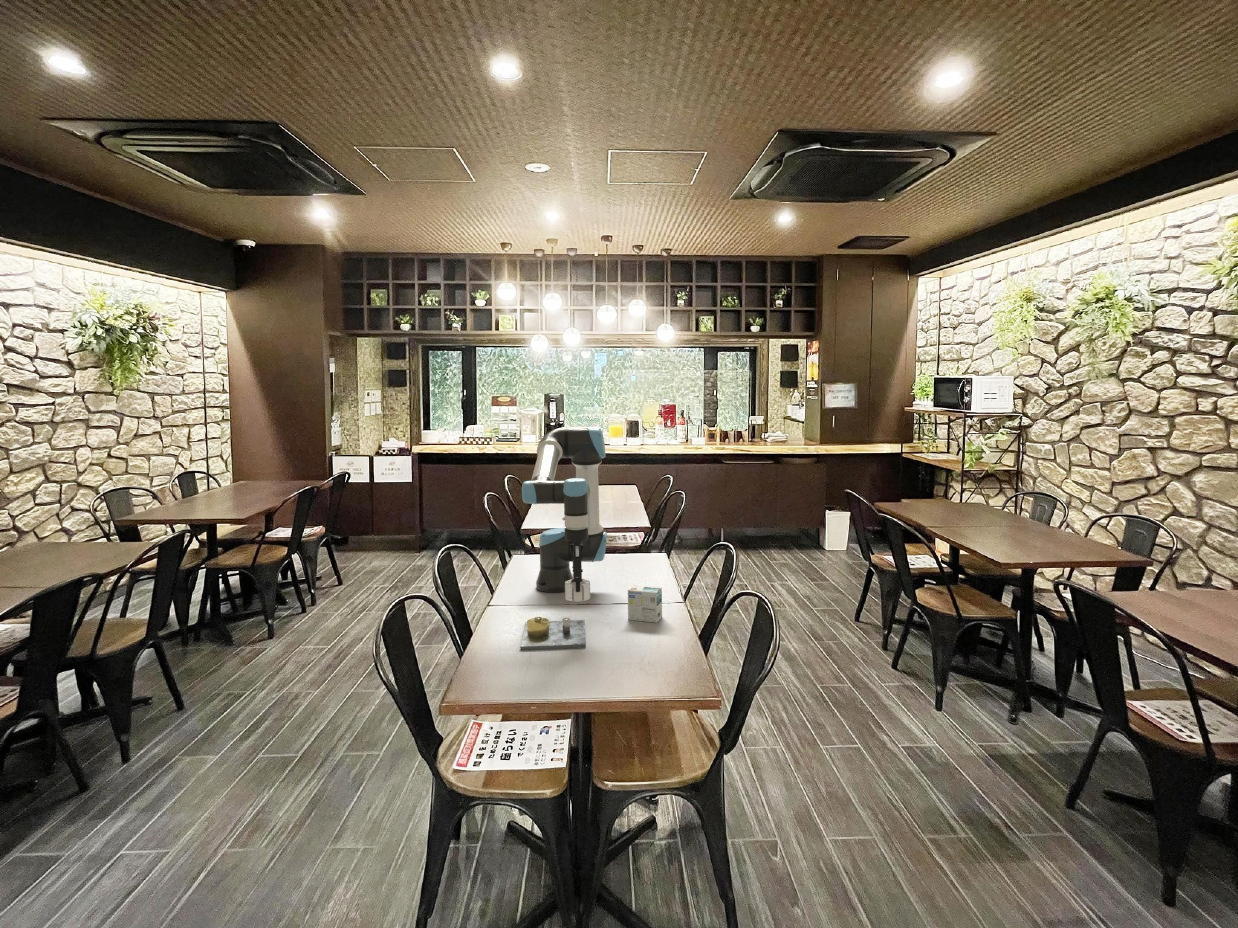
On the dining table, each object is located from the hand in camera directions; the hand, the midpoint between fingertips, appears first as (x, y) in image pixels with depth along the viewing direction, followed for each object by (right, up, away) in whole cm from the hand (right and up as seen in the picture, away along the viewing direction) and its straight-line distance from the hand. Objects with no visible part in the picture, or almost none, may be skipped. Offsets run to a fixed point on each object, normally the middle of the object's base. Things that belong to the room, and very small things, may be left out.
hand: (577, 596), depth 225 cm
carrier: (-8, -13, +1) cm, 15 cm away
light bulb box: (+22, -11, +17) cm, 30 cm away
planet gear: (0, 0, 0) cm, 0 cm away
